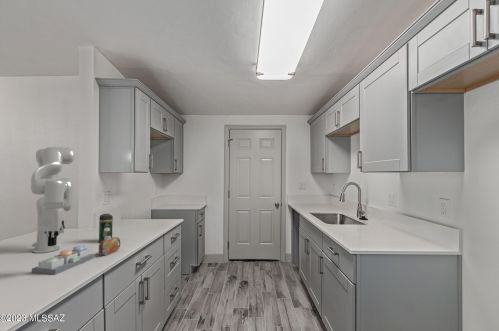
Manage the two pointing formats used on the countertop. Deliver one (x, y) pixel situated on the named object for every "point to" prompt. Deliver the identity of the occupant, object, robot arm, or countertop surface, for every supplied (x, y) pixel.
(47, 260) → the green button
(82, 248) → the slate button
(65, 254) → the terracotta button
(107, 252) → the tin
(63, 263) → the button panel
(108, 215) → the coffee jar
